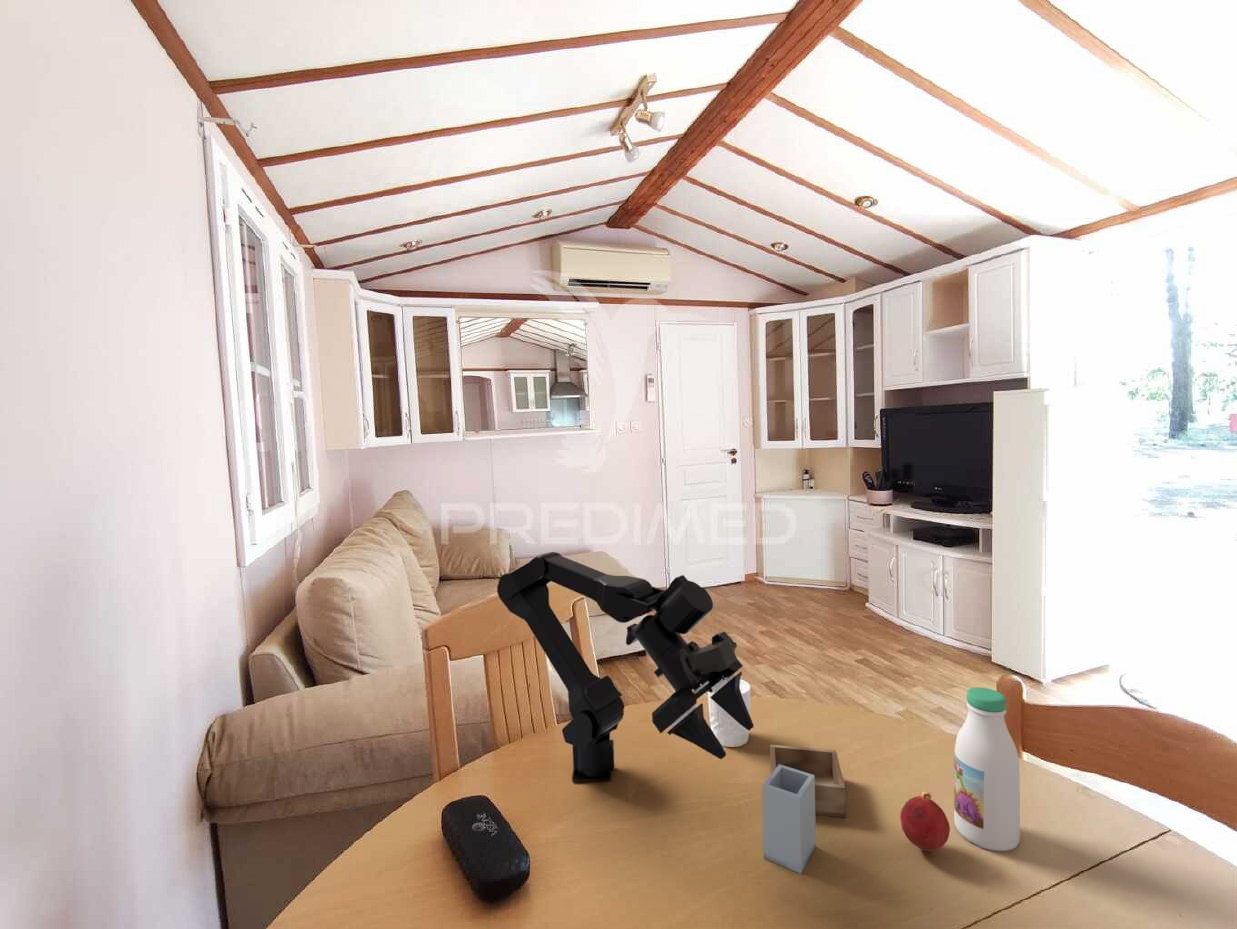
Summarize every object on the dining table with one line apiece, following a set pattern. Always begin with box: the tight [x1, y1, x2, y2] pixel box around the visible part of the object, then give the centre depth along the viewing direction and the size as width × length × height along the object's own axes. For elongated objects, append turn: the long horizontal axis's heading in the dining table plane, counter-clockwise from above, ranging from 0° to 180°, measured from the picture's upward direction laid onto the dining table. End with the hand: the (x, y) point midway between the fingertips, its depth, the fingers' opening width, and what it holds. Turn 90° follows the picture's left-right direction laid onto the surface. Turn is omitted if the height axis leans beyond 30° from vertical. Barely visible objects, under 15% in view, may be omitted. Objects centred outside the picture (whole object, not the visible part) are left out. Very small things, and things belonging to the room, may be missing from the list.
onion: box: [899, 791, 951, 852], centre depth 78 cm, size 6×6×8 cm
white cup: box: [707, 678, 751, 748], centre depth 109 cm, size 8×8×10 cm
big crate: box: [769, 744, 847, 819], centre depth 92 cm, size 10×10×4 cm
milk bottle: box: [953, 687, 1021, 852], centre depth 81 cm, size 8×8×20 cm
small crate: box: [761, 764, 817, 875], centre depth 79 cm, size 5×6×10 cm
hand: (738, 742), depth 83 cm, fingers open, 9 cm apart
